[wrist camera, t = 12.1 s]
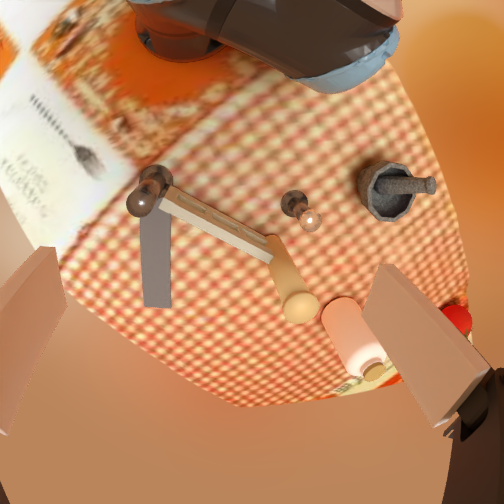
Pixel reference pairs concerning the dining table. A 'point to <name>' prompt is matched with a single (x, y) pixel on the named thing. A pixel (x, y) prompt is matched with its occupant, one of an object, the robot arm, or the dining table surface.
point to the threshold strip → (156, 257)
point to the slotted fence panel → (249, 251)
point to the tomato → (459, 318)
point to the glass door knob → (300, 210)
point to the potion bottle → (353, 339)
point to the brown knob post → (149, 190)
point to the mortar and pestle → (391, 189)
